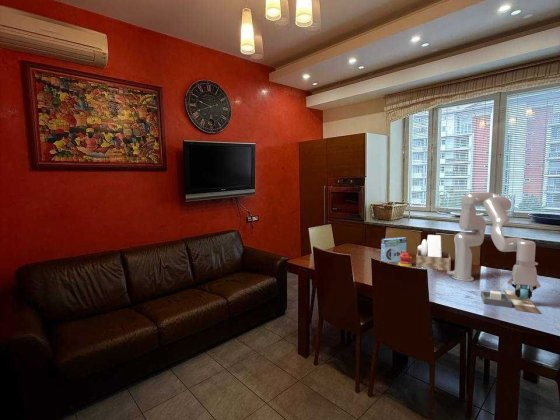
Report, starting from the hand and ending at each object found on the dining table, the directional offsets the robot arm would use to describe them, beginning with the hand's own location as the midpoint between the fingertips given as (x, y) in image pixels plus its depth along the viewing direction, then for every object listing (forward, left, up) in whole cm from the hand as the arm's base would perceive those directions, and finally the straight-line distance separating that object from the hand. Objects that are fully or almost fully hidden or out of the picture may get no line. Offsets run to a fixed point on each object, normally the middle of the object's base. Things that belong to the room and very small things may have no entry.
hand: (523, 296), depth 161 cm
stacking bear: (-60, +20, -4) cm, 64 cm away
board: (0, +4, -4) cm, 6 cm away
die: (-13, -2, -3) cm, 13 cm away
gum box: (-70, +43, -4) cm, 82 cm away
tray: (-13, -3, -4) cm, 13 cm away
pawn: (0, 0, -1) cm, 1 cm away
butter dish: (-38, +64, +8) cm, 75 cm away
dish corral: (-43, +62, -4) cm, 76 cm away
